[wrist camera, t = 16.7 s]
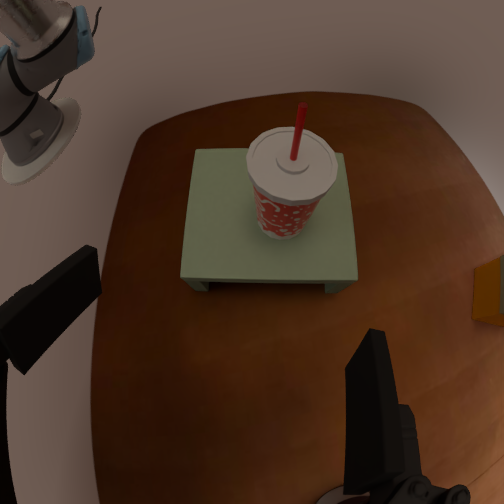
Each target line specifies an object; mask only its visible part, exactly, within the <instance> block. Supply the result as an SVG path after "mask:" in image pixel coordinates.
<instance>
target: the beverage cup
mask: <svg viewBox="0 0 504 504" xmlns="http://www.w3.org/2000/svg"><path fill="white" fill-rule="evenodd" d="M307 107H308V105H307V103H305V102H300V103H299V106H298V112H297V118H296V124H295V127H280V128H274V129H272V130H269V131H267V132H264V133H262V134H261V135H260V136H258V137H257V138H256V139H255V140H254V141H253V142H252V143H251V145H250V148H249V150H248V153H247V155H246V161H247V169H248V176H249V179H250V181H251V182H252V184H253V188H254V196H255V204H256V213H257V220H258V225H259V226H260V228H261V230H262V231H263V232H264V233H265V234H267V235H268V236H269V237H271V238H275V239H278V240H286V239H291V238H293V237H295V236H297V235H298V234H299V233H300V232H301V231H302V229H303V228H304V227H305V225H306V223H307V221H308V220H309V218H310V216H311V215H312V213H313V211H314V210H315V208H316V206H317V204H318V203H319V201H320V199H321V198H323V197H324V196H325V195H326V193H327V192H328V191H329V190H330V188H331V187H332V186H333V184H334V182H335V180H336V176H337V170H338V163H337V160H336V157H335V154H334V151H333V150H332V149H331V148H330V146H329V145H328V144H327V143H326V142H325V140H324V139H322V138H320V137H319V136H317V135H315V134H314V133H312V132H310V131H308V130H304V129H303V127H304V122H305V117H306V112H307Z"/></svg>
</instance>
